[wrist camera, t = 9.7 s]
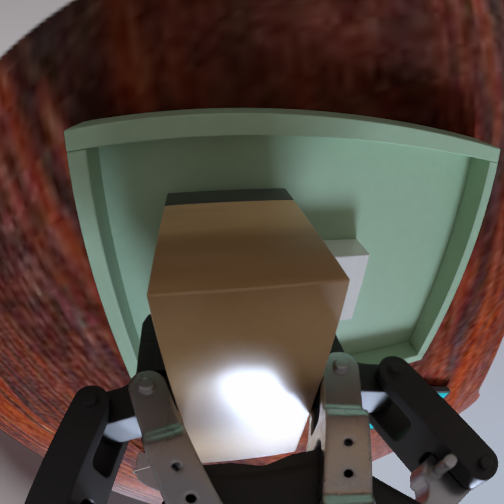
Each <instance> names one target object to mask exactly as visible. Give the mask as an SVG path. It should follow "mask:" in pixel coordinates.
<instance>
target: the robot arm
mask: <svg viewBox="0 0 504 504" xmlns="http://www.w3.org/2000/svg"><path fill="white" fill-rule="evenodd" d="M370 424H371V425H372V426H373V428H374V429H375V430H376V431H377V432H378V434H379V435H380V436H381V437H382V438H383V440H384V441H385V442H386V443H387V444H388V445H389V447H390V448H391V449H392V450H393V451H394V453H395V454H396V455H397V456H398V457H399V458H400V460H401V461H402V462H403V463H404V464H405V466H406V467H407V468H408V469H409V470H410V471H411V476H410V483H411V484H410V487H411V489H412V490H413V491H414V492H415V495H416V500H414V499H412V498H411V497H409V496H407V495H405V494H403V493H401V492H400V491H398V490H396V489H394V488H392V487H391V486H389V485H387V484H385V483H384V482H382V481H380V480H379V479H377V478H375V477H374V476H372V456H371V437H370ZM139 437H142V438H141V441H142V444H143V448H144V450H145V453H146V456H147V459H148V462H149V464H150V467H151V470H152V472H153V475H154V478H155V480H156V483H157V485H158V488H159V490H160V493H161V495H162V497H163V500H164V501H163V502H162V504H458V503H459V502H460V501H461V500H462V499H463V498H464V497H465V495H466V494H467V493H468V492H469V491H471V490H472V489H474V488H476V487H477V486H479V485H480V484H482V483H484V482H485V481H487V480H489V479H490V478H491V477H493V476H494V474H495V473H496V471H497V468H498V460H497V456H496V454H495V453H494V451H493V450H492V449H491V448H490V447H489V446H488V445H487V444H486V443H485V442H484V441H483V440H482V439H481V438H480V437H479V435H477V433H476V432H475V431H474V430H473V429H472V428H471V427H470V426H469V425H468V424H467V423H466V422H465V421H464V420H463V419H462V418H461V417H460V416H459V414H458V413H457V412H456V411H455V410H454V409H453V408H452V407H451V406H450V405H449V404H448V403H447V402H446V401H445V400H444V399H443V398H442V397H441V396H440V395H439V394H438V393H437V392H436V391H435V390H434V389H433V388H432V387H431V386H430V385H429V384H428V383H427V382H426V381H425V380H424V379H423V378H422V377H421V376H420V375H419V374H418V373H417V372H416V371H415V370H414V369H413V368H412V367H411V366H410V365H409V364H408V363H407V362H406V361H405V360H404V359H402V358H400V357H397V356H388V357H385V358H384V359H382V360H381V362H380V363H379V365H378V364H364V363H359V362H357V361H356V359H355V358H354V357H352V356H351V355H349V354H347V353H345V352H344V350H343V348H342V346H341V344H340V342H339V340H338V338H337V336H336V334H335V338H334V341H333V344H332V348H331V351H330V354H329V357H328V361H327V364H326V367H325V370H324V373H323V376H322V379H321V382H320V385H319V388H318V391H317V394H316V397H315V400H314V403H313V405H312V408H311V411H310V422H309V438H308V444H307V449H306V452H302V453H297V454H292V455H290V456H287V457H285V458H283V459H280V460H278V461H276V462H273V463H271V464H268V465H265V466H255V465H244V464H235V463H227V464H214V465H202V463H201V461H200V459H199V457H198V455H197V452H196V450H195V448H194V446H193V444H192V442H191V439H190V437H189V435H188V433H187V431H186V428H185V426H184V425H183V423H182V421H181V418H180V416H179V414H178V408H177V405H176V402H175V399H174V396H173V392H172V389H171V386H170V383H169V379H168V376H167V373H166V369H165V366H164V362H163V359H162V355H161V352H160V348H159V344H158V340H157V337H156V333H155V329H154V325H153V321H152V317H151V314H148V316H147V317H146V319H145V320H144V322H143V323H142V330H141V337H140V345H139V353H138V361H137V370H136V374H135V375H134V376H133V377H132V378H131V380H130V382H129V384H127V385H126V386H124V387H122V388H119V389H116V390H112V391H108V392H105V390H104V389H102V388H101V387H98V386H86V387H84V388H82V389H80V390H79V391H78V392H77V393H76V395H75V397H74V399H73V400H72V402H71V404H70V406H69V408H68V410H67V412H66V414H65V416H64V418H63V420H62V422H61V424H60V426H59V428H58V430H57V432H56V434H55V436H54V438H53V440H52V442H51V444H50V446H49V448H48V451H47V453H46V455H45V457H44V459H43V461H42V464H41V466H40V468H39V470H38V473H37V475H36V477H35V479H34V482H33V484H32V486H31V489H30V491H29V494H28V496H27V499H26V501H25V504H107V501H108V498H109V495H110V492H111V490H112V487H113V484H114V481H115V478H116V475H117V473H118V470H119V467H120V464H121V462H122V459H123V456H124V453H125V451H126V448H127V445H128V443H129V440H132V439H136V438H139Z"/></svg>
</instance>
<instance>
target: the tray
mask: <svg viewBox="0 0 504 504" xmlns="http://www.w3.org/2000/svg"><path fill="white" fill-rule="evenodd" d="M64 136H65V145H66V151H69V152H67V157H68V164H69V171H70V177H71V182H72V188H73V193H74V199H75V204H76V209H77V213H78V218H79V222H80V227H81V231H82V235H83V239H84V243H85V247H86V251H87V255H88V258H89V262H90V266H91V269H92V273H93V276H94V279H95V283H96V286H97V289H98V292H99V295H100V298H101V301H102V304H103V307H104V310H105V313H106V316H107V319H108V322H109V325H110V327H111V330H112V333H113V335H114V338H115V341H116V343H117V346H118V348H119V351H120V353H121V356H122V358H123V361H124V363H125V366H126V368H127V370H128V373H129V375H130V377H131V378H132V377H133V376H134V375H135V374H136V370H137V361H138V353H139V345H140V337H141V330H142V323H143V322H144V320H145V319H146V317H147V316H148V314H151V312H150V308H149V304H148V300H147V291H148V285H149V279H150V274H151V268H152V263H153V258H154V253H155V248H156V243H157V238H158V233H159V229H160V224H161V220H162V215H163V211H164V207H165V202H166V198H167V194H168V193H179V192H195V191H214V190H237V189H270V188H285V189H286V190H287V191H288V193H289V194H290V195H291V197H292V198H293V200H294V201H295V202H296V204H297V205H298V206H299V208H300V209H301V211H302V212H303V213H304V215H305V216H306V217H307V219H308V220H309V221H310V223H311V224H312V226H313V227H314V228H315V230H316V231H317V233H318V234H319V235H320V237H321V238H322V240H337V239H357V240H358V241H359V242H360V243H361V245H362V246H363V247H364V248H365V249H366V250H367V252H368V253H369V259H368V263H367V267H366V271H365V275H364V278H363V282H362V286H361V289H360V293H359V296H358V300H357V303H356V307H355V310H354V313H353V317H352V319H349V320H342V321H339V324H338V327H337V331H336V336H337V338H338V340H339V342H340V344H341V346H342V348H343V350H344V352H345V353H347V354H349V355H351V356H352V357H354V358H355V359H356V361H357V362H359V363H364V364H378V365H379V363H380V362H381V360H382V359H384V358H385V357H388V356H397V357H400V358H402V359H404V360H405V361H406V362H407V363H411V362H414V361H417V360H421V359H422V357H423V355H424V354H425V352H426V350H427V349H428V347H429V345H430V343H431V341H432V339H433V337H434V336H435V334H436V332H437V330H438V328H439V326H440V324H441V322H442V320H443V318H444V316H445V314H446V312H447V310H448V308H449V305H450V303H451V301H452V299H453V297H454V294H455V292H456V290H457V288H458V285H459V283H460V281H461V278H462V276H463V273H464V271H465V268H466V266H467V263H468V261H469V258H470V256H471V253H472V250H473V247H474V245H475V242H476V239H477V236H478V233H479V230H480V227H481V224H482V221H483V217H484V214H485V211H486V207H487V204H488V200H489V197H490V193H491V189H492V185H493V181H494V177H495V173H496V168H497V162H498V159H499V154H500V149H499V148H497V147H495V146H493V145H490V144H488V143H486V142H483V141H481V140H479V139H476V138H473V137H469V136H465V135H462V134H458V133H454V132H449V131H445V130H441V129H436V128H432V127H427V126H422V125H417V124H412V123H407V122H401V121H395V120H389V119H383V118H377V117H369V116H362V115H354V114H345V113H336V112H325V111H313V110H298V109H278V108H207V109H187V110H172V111H160V112H149V113H140V114H131V115H123V116H116V117H109V118H102V119H96V120H90V121H85V122H82V123H80V124H77V125H75V126H73V127H71V128H68V129H66V130H64Z"/></svg>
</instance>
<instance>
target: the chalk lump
mask: <svg viewBox="0 0 504 504" xmlns="http://www.w3.org/2000/svg"><path fill="white" fill-rule="evenodd" d="M323 241H324V242H325V244H326V245H327V247H328V248H329V250H330V251H331V252H332V254H333V255H334V257H335V258H336V260H337V261H338V262H339V264H340V265H341V267H342V268H343V270H344V271H345V273H346V274H347V276H348V277H349V279H350V282H349V286H348V290H347V294H346V298H345V301H344V305H343V309H342V313H341V316H340V320H339V321H342V320H349V319H352V317H353V313H354V310H355V307H356V303H357V300H358V296H359V293H360V289H361V286H362V282H363V278H364V275H365V271H366V267H367V263H368V259H369V253H368V252H367V250H366V249H365V248H364V247H363V246H362V245H361V243H360V242H359V241H358V240H357V239H337V240H323Z"/></svg>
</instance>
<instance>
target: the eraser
mask: <svg viewBox="0 0 504 504" xmlns="http://www.w3.org/2000/svg"><path fill="white" fill-rule="evenodd" d="M349 282H350V279H349V277H348V276H347V274H346V273H345V271H344V270H343V268H342V267H341V265H340V264H339V262H338V261H337V260H336V258H335V257H334V255H333V254H332V252H331V251H330V250H329V248H328V247H327V245H326V244H325V242H324V241H323V240H322V238H321V237H320V235H319V234H318V233H317V231H316V230H315V228H314V227H313V226H312V224H311V223H310V221H309V220H308V219H307V217H306V216H305V215H304V213H303V212H302V211H301V209H300V208H299V206H298V205H297V204H296V202H295V201H294V200H293V198H292V197H291V195H290V194H289V193H288V191H287V190H286V189H285V188H270V189H237V190H214V191H195V192H179V193H168V194H167V198H166V202H165V207H164V211H163V215H162V220H161V224H160V229H159V233H158V238H157V243H156V248H155V253H154V258H153V263H152V268H151V274H150V279H149V285H148V291H147V300H148V304H149V308H150V312H151V317H152V321H153V325H154V329H155V333H156V337H157V340H158V344H159V348H160V352H161V355H162V359H163V362H164V366H165V369H166V373H167V376H168V379H169V383H170V386H171V389H172V392H173V396H174V399H175V402H176V405H177V408H178V411H179V414H180V417H181V420H182V423H183V425H184V426H185V428H186V431H187V433H188V435H189V437H190V439H191V442H192V444H193V446H194V448H195V450H196V452H197V455H198V457H199V459H200V461H201V463H205V462H220V461H231V460H241V459H249V458H257V457H264V456H271V455H277V454H283V453H288V452H294V451H295V450H296V448H297V445H298V443H299V440H300V438H301V435H302V432H303V430H304V427H305V425H306V422H307V419H308V416H309V414H310V411H311V408H312V405H313V403H314V400H315V397H316V394H317V391H318V388H319V385H320V382H321V379H322V376H323V373H324V370H325V367H326V364H327V361H328V357H329V354H330V351H331V348H332V344H333V341H334V338H335V334H336V331H337V327H338V324H339V320H340V316H341V313H342V309H343V305H344V301H345V298H346V294H347V290H348V286H349Z"/></svg>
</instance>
